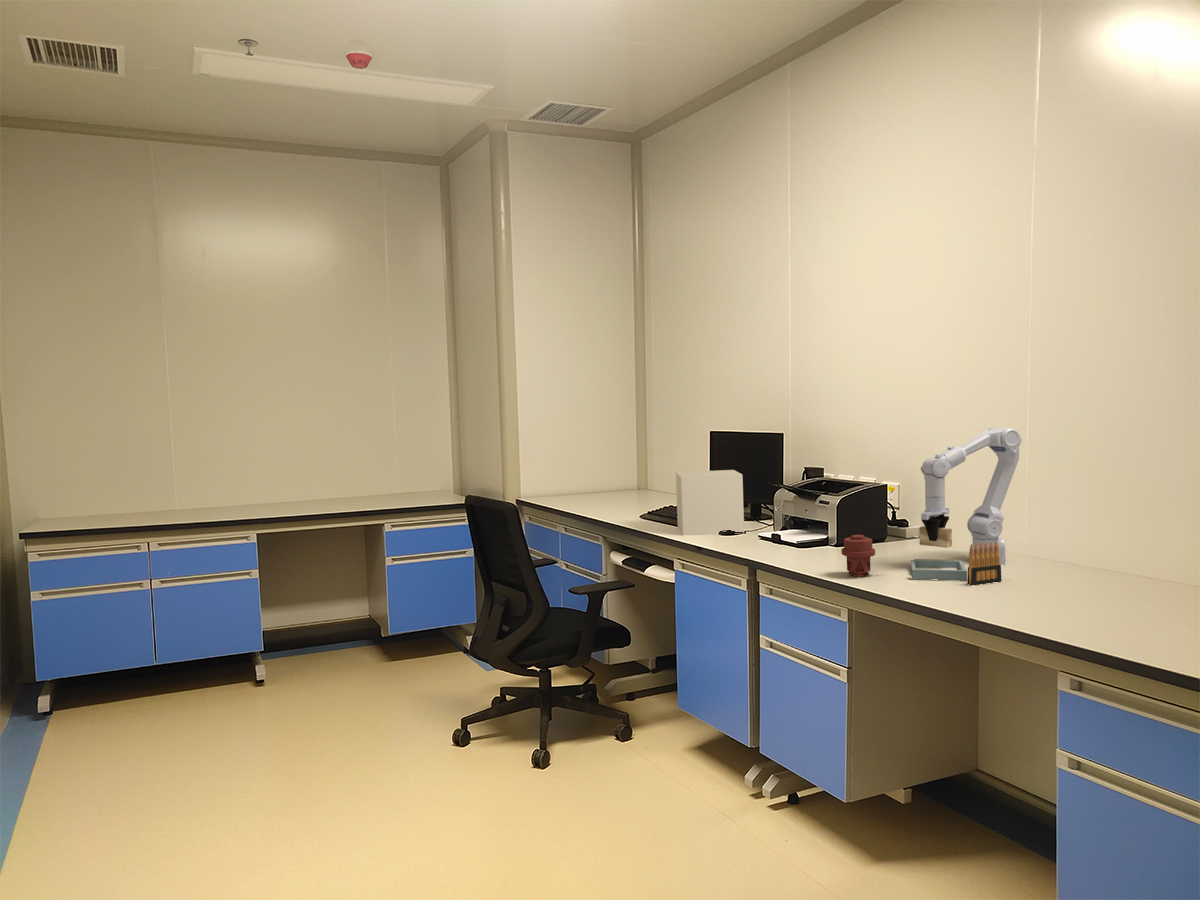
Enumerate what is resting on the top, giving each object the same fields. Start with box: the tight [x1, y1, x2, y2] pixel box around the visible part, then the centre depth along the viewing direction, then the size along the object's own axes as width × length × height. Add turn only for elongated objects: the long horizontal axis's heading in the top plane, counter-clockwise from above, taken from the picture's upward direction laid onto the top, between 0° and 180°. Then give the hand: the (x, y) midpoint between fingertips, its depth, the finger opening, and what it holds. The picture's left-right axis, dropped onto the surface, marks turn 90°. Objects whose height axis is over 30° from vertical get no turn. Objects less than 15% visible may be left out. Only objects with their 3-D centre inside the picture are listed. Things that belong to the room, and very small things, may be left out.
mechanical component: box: [840, 534, 876, 578], centre depth 265 cm, size 12×10×10 cm
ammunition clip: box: [966, 541, 1002, 586], centre depth 248 cm, size 11×2×12 cm, turn 108°
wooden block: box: [918, 525, 953, 549], centre depth 268 cm, size 3×9×6 cm, turn 42°
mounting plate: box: [913, 558, 955, 561], centre depth 275 cm, size 12×10×1 cm
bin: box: [910, 559, 968, 582], centre depth 261 cm, size 15×15×3 cm
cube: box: [675, 469, 745, 537], centre depth 360 cm, size 25×21×24 cm
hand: (935, 539), depth 268 cm, fingers closed on wooden block, 3 cm apart
